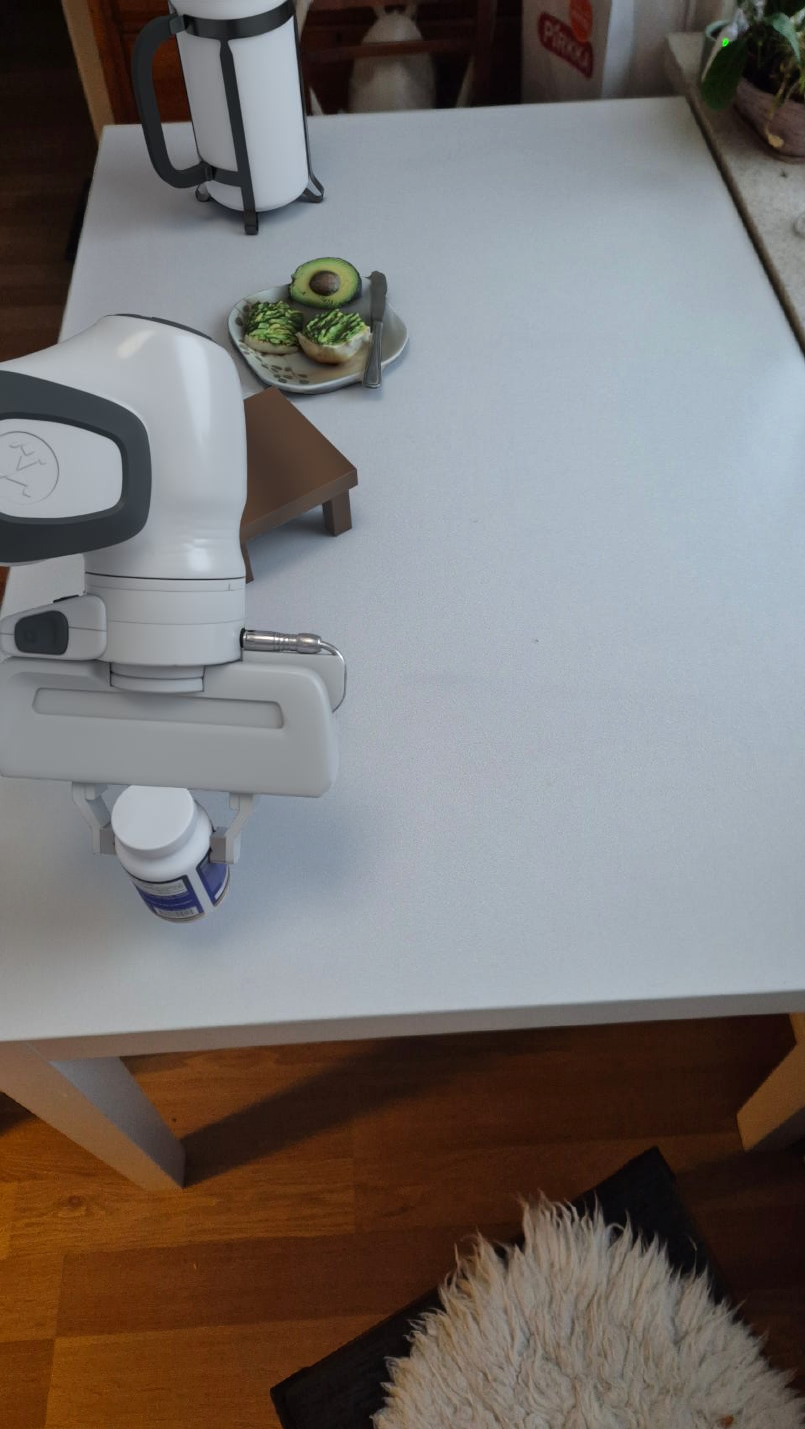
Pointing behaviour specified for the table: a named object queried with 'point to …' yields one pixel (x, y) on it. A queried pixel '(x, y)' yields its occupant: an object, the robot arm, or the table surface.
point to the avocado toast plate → (319, 329)
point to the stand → (290, 471)
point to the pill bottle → (169, 852)
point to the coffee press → (233, 102)
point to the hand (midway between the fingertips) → (166, 856)
